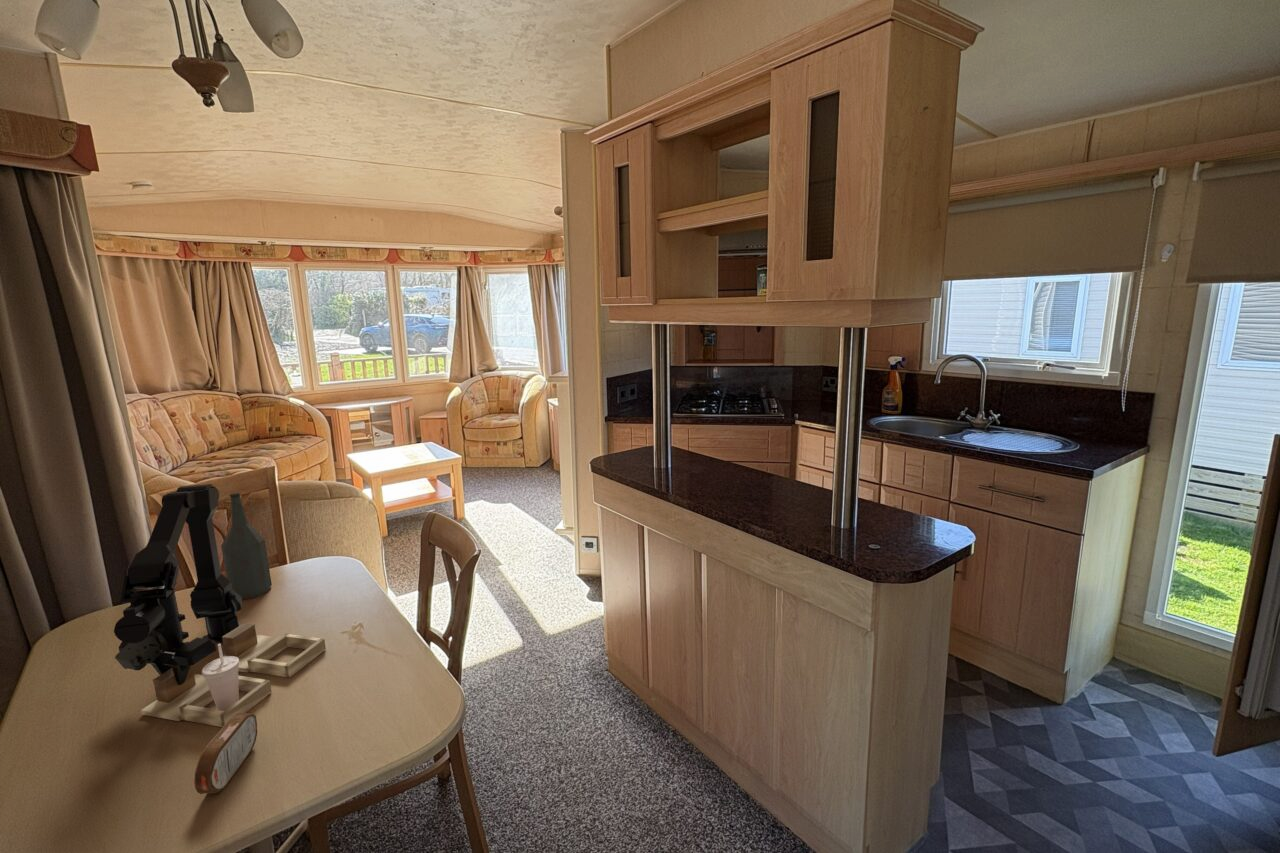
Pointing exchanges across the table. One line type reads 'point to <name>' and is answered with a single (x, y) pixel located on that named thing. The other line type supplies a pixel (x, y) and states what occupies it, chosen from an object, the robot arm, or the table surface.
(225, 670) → the smoothie
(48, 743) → the table surface
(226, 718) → the cream rimmed tray
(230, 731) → the tin
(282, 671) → the hollow rectangular frame
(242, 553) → the bottle
